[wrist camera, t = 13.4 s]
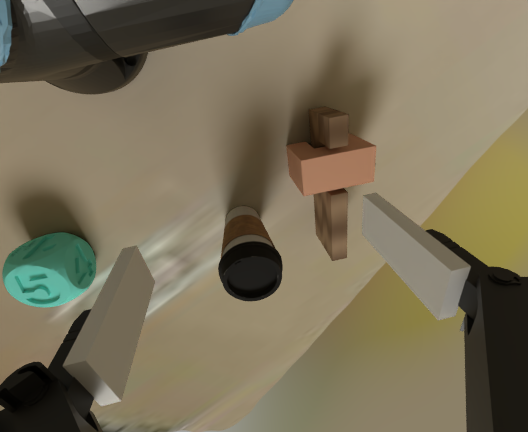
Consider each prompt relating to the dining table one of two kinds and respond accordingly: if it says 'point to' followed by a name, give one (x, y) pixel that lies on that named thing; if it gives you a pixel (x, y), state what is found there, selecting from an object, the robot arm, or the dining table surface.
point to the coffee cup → (248, 257)
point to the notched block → (331, 165)
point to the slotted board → (335, 201)
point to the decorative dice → (50, 270)
